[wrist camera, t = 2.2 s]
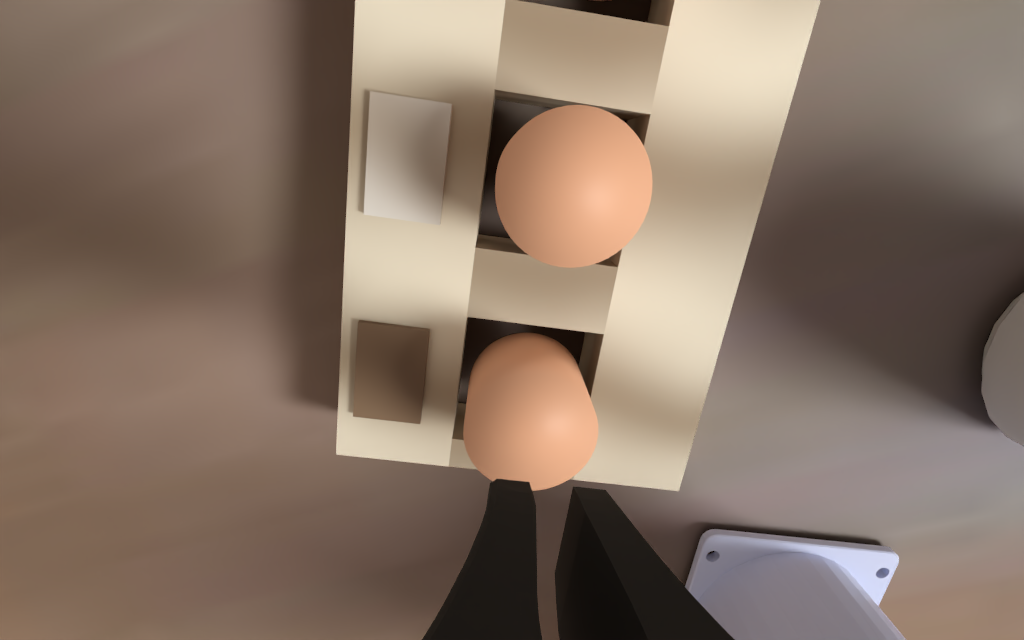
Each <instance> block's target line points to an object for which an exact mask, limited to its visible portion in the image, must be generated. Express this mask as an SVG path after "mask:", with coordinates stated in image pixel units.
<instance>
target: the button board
mask: <svg viewBox="0 0 1024 640" xmlns="http://www.w3.org/2000/svg"><path fill="white" fill-rule="evenodd" d="M820 1H821V0H652V1H651V6H650V11H649V16H648V21H647V23H646V22H641V21H635V20H629V19H623V18H617V17H612V16H606V15H600V14H594V13H588V12H583V11H577V10H571V9H565V8H559V7H554V6H548V5H542V4H536V3H530V2H525V1H519V0H355V19H354V42H353V66H352V90H351V113H350V137H349V160H348V184H347V207H346V231H345V255H344V278H343V302H342V325H341V349H340V372H339V396H338V420H337V443H336V454H337V455H346V456H355V457H365V458H374V459H383V460H393V461H402V462H411V463H421V464H430V465H439V466H449V467H458V468H468V469H477V468H476V467H475V465H474V464H473V463H472V461H471V459H470V458H469V456H468V453H467V451H466V448H465V444H464V437H463V429H464V419H465V411H466V404H465V403H458V397H459V389H460V380H461V372H462V364H463V356H464V348H465V340H466V332H467V323H468V317H473V318H481V319H488V320H496V321H504V322H512V323H520V324H528V325H535V326H543V327H551V328H559V329H567V330H574V331H582V332H585V337H584V342H583V347H582V352H581V357H580V362H579V370H580V372H581V375H582V378H583V380H584V383H585V386H586V388H587V391H588V393H589V396H590V399H591V401H592V404H593V407H594V409H595V412H596V416H597V420H598V439H597V444H596V447H595V450H594V452H593V454H592V456H591V458H590V459H589V461H588V462H587V464H586V465H585V466H584V467H583V468H582V469H581V470H580V471H579V472H578V473H577V474H576V475H575V476H573V477H572V478H570V480H580V481H589V482H598V483H608V484H617V485H626V486H636V487H645V488H655V489H664V490H673V491H679V489H680V485H681V482H682V478H683V475H684V471H685V468H686V464H687V461H688V457H689V454H690V450H691V447H692V444H693V440H694V437H695V433H696V430H697V426H698V423H699V419H700V416H701V412H702V409H703V405H704V402H705V399H706V395H707V392H708V388H709V385H710V381H711V378H712V374H713V371H714V367H715V364H716V360H717V357H718V354H719V350H720V347H721V343H722V340H723V336H724V333H725V329H726V326H727V322H728V319H729V315H730V312H731V309H732V305H733V302H734V298H735V295H736V291H737V288H738V284H739V281H740V277H741V274H742V271H743V267H744V264H745V260H746V257H747V253H748V250H749V246H750V243H751V239H752V236H753V232H754V229H755V226H756V222H757V219H758V215H759V212H760V208H761V205H762V201H763V198H764V194H765V191H766V187H767V184H768V181H769V177H770V174H771V170H772V167H773V163H774V160H775V156H776V153H777V149H778V146H779V142H780V139H781V136H782V132H783V129H784V125H785V122H786V118H787V115H788V111H789V108H790V104H791V101H792V98H793V94H794V91H795V87H796V84H797V80H798V77H799V73H800V70H801V66H802V63H803V59H804V56H805V53H806V49H807V46H808V42H809V39H810V35H811V32H812V28H813V25H814V21H815V18H816V14H817V11H818V8H819V4H820ZM495 99H498V100H504V101H511V102H517V103H523V104H530V105H536V106H542V107H549V108H557V107H562V106H567V105H586V106H592V107H596V108H600V109H603V110H605V111H608V112H610V113H612V114H613V115H615V116H617V117H619V118H620V119H624V120H628V121H627V125H628V126H629V127H630V128H631V129H632V130H633V131H634V132H635V133H636V135H637V136H638V137H639V139H640V140H641V142H642V144H643V146H644V148H645V150H646V152H647V155H648V158H649V161H650V165H651V170H652V180H653V183H652V196H651V202H650V205H649V209H648V212H647V214H646V217H645V219H644V221H643V223H642V225H641V227H640V228H639V230H638V232H637V233H636V234H635V235H634V237H633V238H632V239H631V240H630V241H629V242H628V243H627V245H626V246H625V247H623V248H622V249H621V250H620V251H618V252H617V253H616V254H614V255H612V256H611V257H609V258H607V259H605V260H603V261H601V262H599V263H596V264H593V265H589V266H584V267H576V268H566V267H557V266H552V265H549V264H546V263H543V262H541V261H539V260H537V259H535V258H533V257H531V256H530V255H528V254H527V253H525V252H524V251H523V250H522V249H521V248H520V247H518V246H517V245H516V243H515V242H514V241H513V240H512V239H509V238H502V237H495V236H488V235H480V234H479V226H480V218H481V210H482V201H483V193H484V185H485V177H486V169H487V161H488V153H489V145H490V136H491V128H492V120H493V112H494V104H495ZM477 470H478V469H477Z"/></svg>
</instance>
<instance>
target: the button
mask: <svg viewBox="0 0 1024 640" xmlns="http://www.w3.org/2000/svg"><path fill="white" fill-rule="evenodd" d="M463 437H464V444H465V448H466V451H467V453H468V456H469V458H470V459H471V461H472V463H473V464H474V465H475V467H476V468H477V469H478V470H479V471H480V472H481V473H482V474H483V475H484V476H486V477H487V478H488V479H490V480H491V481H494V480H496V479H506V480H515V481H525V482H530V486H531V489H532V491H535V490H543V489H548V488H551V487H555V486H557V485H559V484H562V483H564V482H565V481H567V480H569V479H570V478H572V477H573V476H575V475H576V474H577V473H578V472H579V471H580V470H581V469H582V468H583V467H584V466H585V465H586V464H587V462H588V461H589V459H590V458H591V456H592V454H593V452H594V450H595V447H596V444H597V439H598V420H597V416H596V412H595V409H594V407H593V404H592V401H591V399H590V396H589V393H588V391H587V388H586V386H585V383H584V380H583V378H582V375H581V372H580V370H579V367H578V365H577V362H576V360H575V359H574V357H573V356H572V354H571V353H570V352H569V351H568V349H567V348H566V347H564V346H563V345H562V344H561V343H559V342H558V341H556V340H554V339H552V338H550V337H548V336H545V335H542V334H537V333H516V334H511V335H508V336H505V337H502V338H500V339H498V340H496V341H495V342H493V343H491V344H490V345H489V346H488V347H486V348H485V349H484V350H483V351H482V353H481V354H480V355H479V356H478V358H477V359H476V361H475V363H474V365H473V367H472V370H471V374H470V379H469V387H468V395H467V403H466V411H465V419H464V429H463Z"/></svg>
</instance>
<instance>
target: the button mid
mask: <svg viewBox="0 0 1024 640" xmlns="http://www.w3.org/2000/svg"><path fill="white" fill-rule="evenodd" d="M652 183H653V180H652V170H651V165H650V161H649V158H648V155H647V152H646V150H645V148H644V146H643V144H642V142H641V140H640V139H639V137H638V136H637V135H636V133H635V132H634V131H633V130H632V129H631V128H630V127H629V126H628V125H627V124H626V123H625V122H624V121H622V120H621V119H620V118H619V117H617V116H615V115H613V114H612V113H610V112H608V111H605V110H603V109H600V108H596V107H592V106H586V105H567V106H562V107H557V108H554V109H551V110H548V111H545V112H543V113H542V114H540V115H538V116H536V117H534V118H533V119H531V120H530V121H529V122H527V123H526V124H525V125H524V126H523V127H522V128H521V129H519V130H518V132H517V133H516V134H515V135H514V136H513V137H512V138H511V139H510V141H509V142H508V144H507V145H506V147H505V148H504V150H503V152H502V154H501V156H500V159H499V162H498V166H497V171H496V180H495V199H496V205H497V210H498V213H499V216H500V219H501V222H502V224H503V226H504V228H505V230H506V231H507V233H508V234H509V236H510V238H511V239H512V240H513V241H514V242H515V243H516V245H517V246H518V247H520V248H521V249H522V250H523V251H524V252H525V253H527V254H528V255H530V256H531V257H533V258H535V259H537V260H539V261H541V262H543V263H546V264H549V265H552V266H557V267H566V268H576V267H584V266H589V265H593V264H596V263H599V262H601V261H603V260H605V259H607V258H609V257H611V256H612V255H614V254H616V253H617V252H618V251H620V250H621V249H622V248H623V247H625V246H626V245H627V243H628V242H629V241H630V240H631V239H632V238H633V237H634V235H635V234H636V233H637V232H638V230H639V228H640V227H641V225H642V223H643V221H644V219H645V217H646V214H647V212H648V209H649V205H650V202H651V196H652Z"/></svg>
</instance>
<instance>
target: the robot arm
mask: <svg viewBox="0 0 1024 640" xmlns="http://www.w3.org/2000/svg"><path fill="white" fill-rule="evenodd" d="M711 551H714V552H713V553H711V554H708V553H709V552H711ZM898 562H899V557H898V555H897V554H896V553H895V552H894V551H893V550H892V549H891V548H890V547H886V546H878V545H868V544H858V543H849V542H839V541H829V540H819V539H809V538H800V537H790V536H780V535H770V534H760V533H751V532H741V531H731V530H721V529H710V530H708V531H706V532H705V533H703V534H702V536H701V538H700V541H699V544H698V547H697V550H696V554H695V557H694V560H693V563H692V566H691V569H690V573H689V576H688V579H687V582H686V585H685V586H684V585H683V584H682V583H681V582H680V581H679V580H678V579H677V577H676V576H675V575H674V574H673V573H672V572H671V570H670V569H669V568H668V567H667V566H666V565H665V563H664V562H663V561H662V560H661V559H660V558H659V556H658V555H657V554H656V553H655V552H654V550H653V549H652V548H651V547H650V545H649V544H648V543H647V542H646V541H645V539H644V538H643V537H642V536H641V534H640V533H639V532H638V531H637V529H636V528H635V527H634V526H633V524H632V523H631V522H630V521H629V519H628V518H627V517H626V515H625V514H624V513H623V512H622V510H621V509H620V508H619V507H618V505H617V504H616V503H615V501H614V500H613V499H612V498H611V496H610V495H609V494H608V493H607V492H606V490H600V489H591V488H581V487H573V490H572V495H571V500H570V505H569V509H568V514H567V519H566V523H565V528H564V533H563V537H562V542H561V547H560V552H559V556H558V561H557V566H556V570H555V585H556V604H557V618H558V631H559V637H560V640H906V639H905V638H904V636H903V635H902V634H901V633H900V632H899V630H898V629H897V628H896V627H895V626H894V624H893V623H892V622H891V621H890V620H889V618H888V617H887V616H886V615H885V614H884V613H883V611H882V610H881V609H880V608H879V607H878V606H879V603H880V601H881V599H882V597H883V595H884V593H885V591H886V589H887V586H888V584H889V582H890V580H891V578H892V576H893V574H894V572H895V569H896V567H897V565H898ZM422 640H542V636H541V630H540V624H539V615H538V602H537V555H536V505H535V501H534V496H533V492H532V489H531V486H530V482H525V481H515V480H506V479H496V480H494V481H493V482H491V483H490V488H489V494H488V501H487V507H486V512H485V515H484V518H483V521H482V524H481V527H480V529H479V532H478V534H477V536H476V539H475V541H474V544H473V546H472V548H471V551H470V553H469V555H468V558H467V560H466V562H465V564H464V566H463V568H462V570H461V572H460V574H459V576H458V578H457V580H456V581H455V583H454V585H453V587H452V589H451V591H450V593H449V595H448V597H447V599H446V601H445V602H444V604H443V606H442V608H441V609H440V611H439V613H438V615H437V616H436V618H435V620H434V621H433V623H432V625H431V626H430V628H429V630H428V631H427V633H426V634H425V636H424V638H423V639H422Z"/></svg>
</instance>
